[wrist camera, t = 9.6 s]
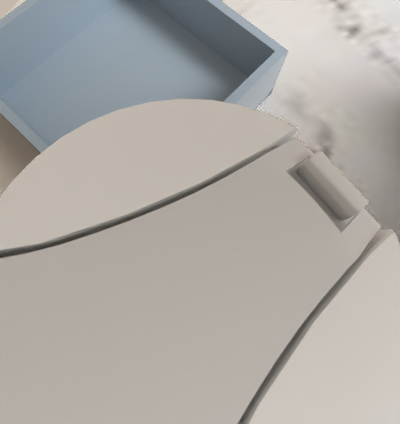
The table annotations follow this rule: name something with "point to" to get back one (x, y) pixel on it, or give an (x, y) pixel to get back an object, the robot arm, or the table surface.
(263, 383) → the paper cup
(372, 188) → the table surface
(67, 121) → the bin
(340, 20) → the table surface
